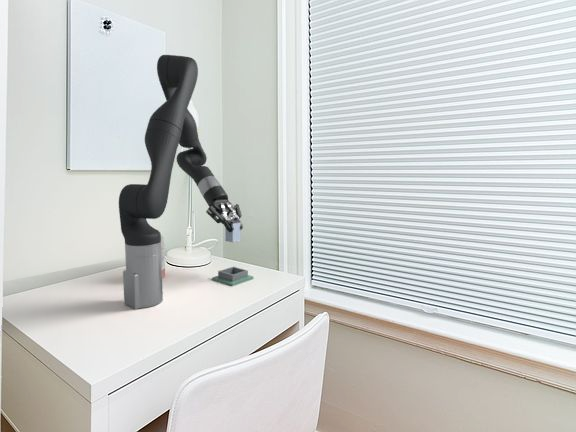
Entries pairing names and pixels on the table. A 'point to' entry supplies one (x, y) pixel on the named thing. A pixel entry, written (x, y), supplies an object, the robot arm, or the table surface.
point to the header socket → (232, 276)
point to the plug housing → (233, 232)
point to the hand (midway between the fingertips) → (236, 229)
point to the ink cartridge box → (162, 257)
